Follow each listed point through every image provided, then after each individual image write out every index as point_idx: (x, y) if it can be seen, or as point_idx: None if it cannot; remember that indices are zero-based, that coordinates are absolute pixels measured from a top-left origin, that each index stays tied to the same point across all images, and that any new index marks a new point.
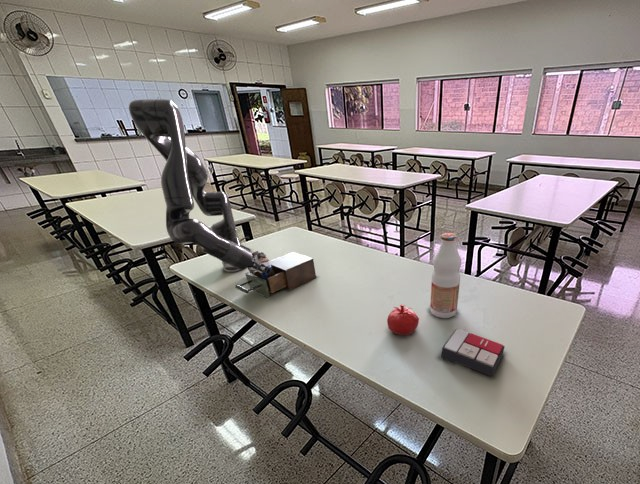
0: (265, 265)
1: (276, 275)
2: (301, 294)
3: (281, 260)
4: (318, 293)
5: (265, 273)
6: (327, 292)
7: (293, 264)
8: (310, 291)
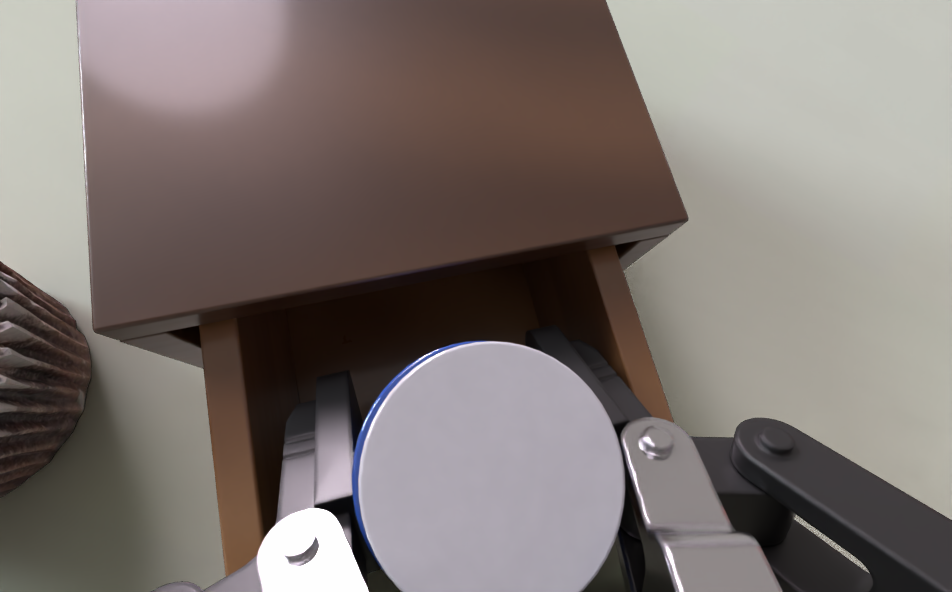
0: (569, 481)
1: (657, 373)
2: (701, 267)
3: (267, 89)
4: (756, 165)
5: (797, 586)
6: (775, 113)
7: (559, 46)
8: (692, 191)
